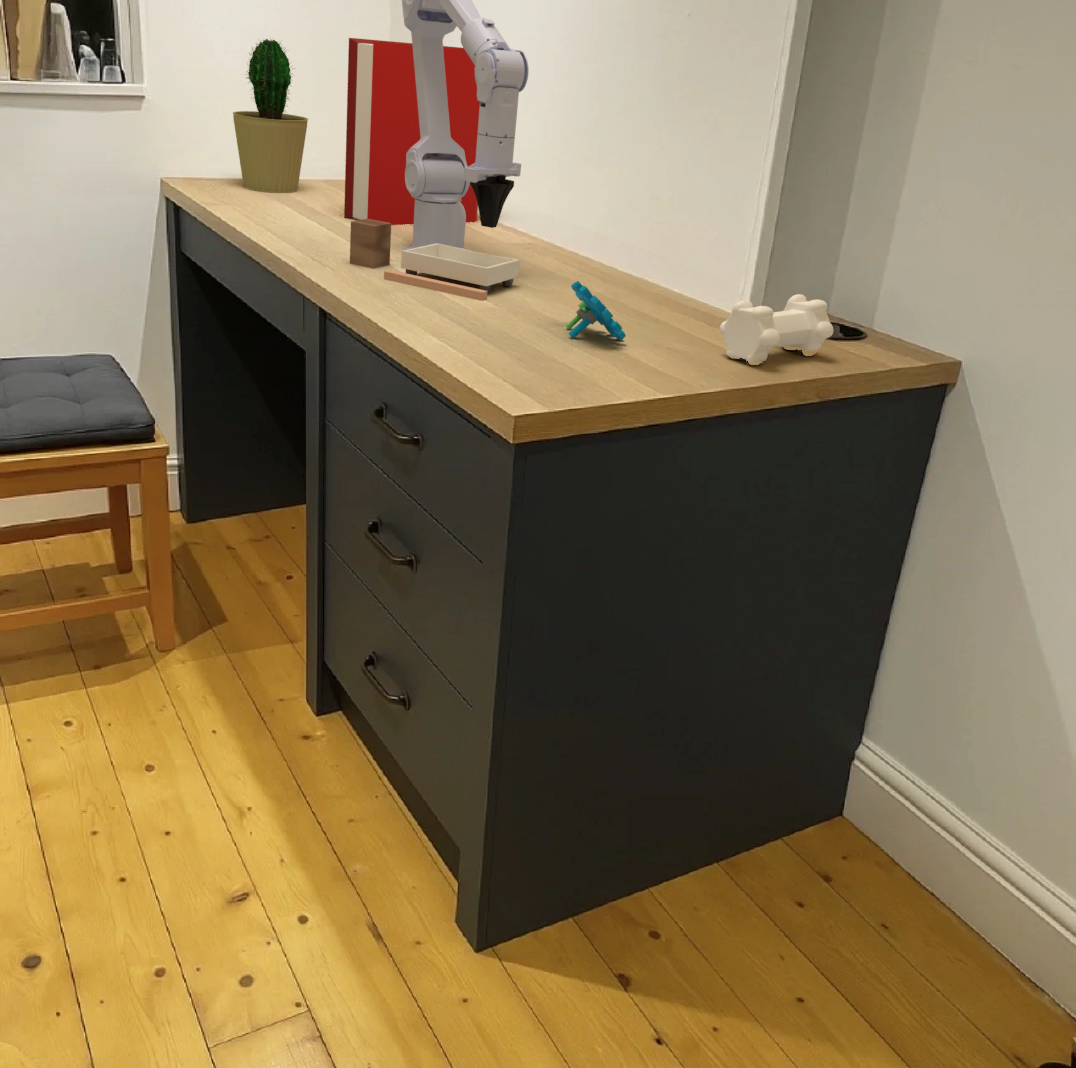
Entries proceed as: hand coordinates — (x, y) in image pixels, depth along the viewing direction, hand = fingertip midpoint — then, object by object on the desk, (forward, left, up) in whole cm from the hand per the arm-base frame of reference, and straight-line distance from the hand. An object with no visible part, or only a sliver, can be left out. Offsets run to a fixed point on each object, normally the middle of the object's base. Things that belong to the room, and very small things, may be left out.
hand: (488, 226), depth 174 cm
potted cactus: (-39, -75, -8) cm, 85 cm away
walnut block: (+9, -16, -8) cm, 20 cm away
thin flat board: (+4, 0, -8) cm, 9 cm away
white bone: (+10, +51, -8) cm, 52 cm away
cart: (+8, 0, -8) cm, 11 cm away
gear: (+20, +29, -8) cm, 36 cm away
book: (-35, -36, -8) cm, 51 cm away
